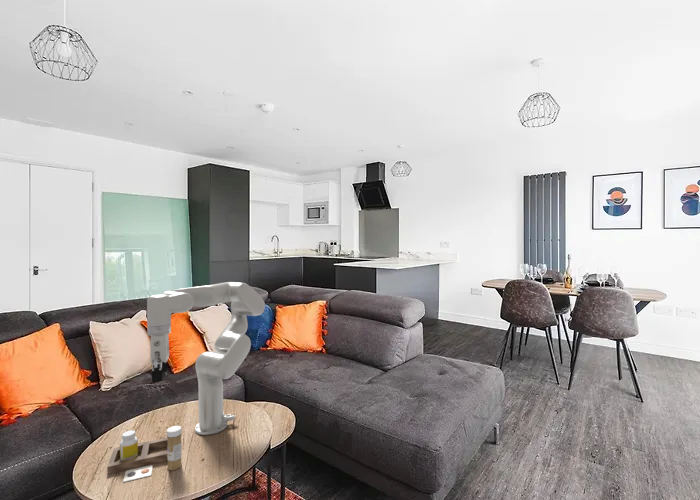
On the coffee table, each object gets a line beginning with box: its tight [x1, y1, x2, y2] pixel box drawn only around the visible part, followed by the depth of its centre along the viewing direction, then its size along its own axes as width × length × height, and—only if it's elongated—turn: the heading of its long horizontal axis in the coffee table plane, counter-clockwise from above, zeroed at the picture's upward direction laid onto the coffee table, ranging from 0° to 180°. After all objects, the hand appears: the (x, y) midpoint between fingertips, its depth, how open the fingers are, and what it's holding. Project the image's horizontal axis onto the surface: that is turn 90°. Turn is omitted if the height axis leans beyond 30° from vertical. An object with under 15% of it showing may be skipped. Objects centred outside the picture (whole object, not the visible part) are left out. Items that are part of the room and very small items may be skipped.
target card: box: [122, 464, 154, 483], centre depth 121 cm, size 8×6×1 cm
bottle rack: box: [106, 437, 168, 475], centre depth 130 cm, size 21×12×2 cm, turn 114°
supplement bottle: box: [119, 429, 139, 461], centre depth 128 cm, size 5×5×10 cm
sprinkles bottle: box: [166, 425, 182, 471], centre depth 124 cm, size 5×5×13 cm
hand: (159, 376), depth 130 cm, fingers open, 9 cm apart
